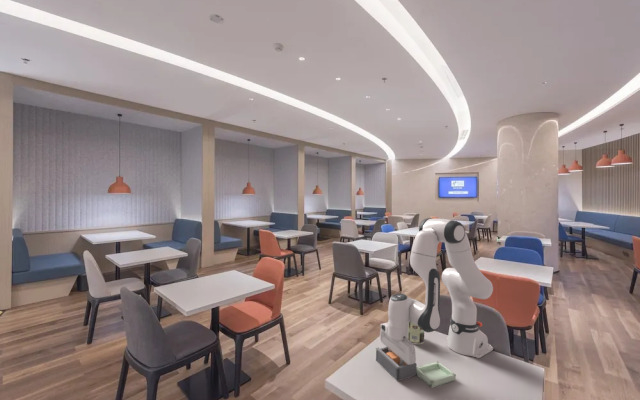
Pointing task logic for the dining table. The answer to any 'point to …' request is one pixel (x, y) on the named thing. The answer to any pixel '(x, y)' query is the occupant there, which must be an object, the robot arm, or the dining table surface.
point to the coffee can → (415, 334)
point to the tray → (435, 374)
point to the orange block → (394, 357)
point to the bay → (394, 365)
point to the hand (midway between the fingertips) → (396, 362)
